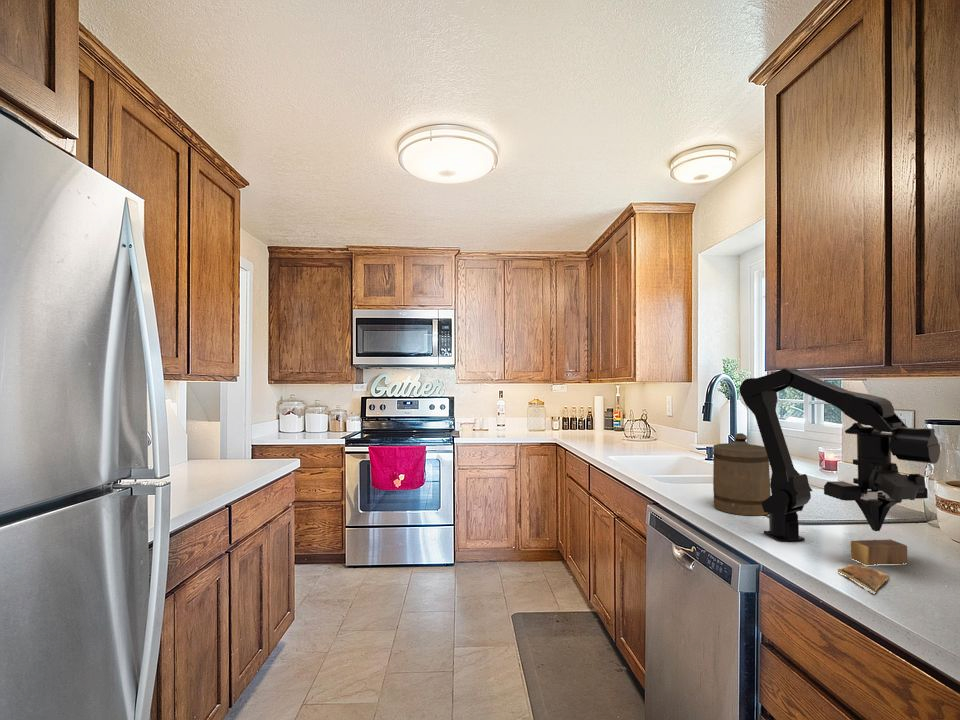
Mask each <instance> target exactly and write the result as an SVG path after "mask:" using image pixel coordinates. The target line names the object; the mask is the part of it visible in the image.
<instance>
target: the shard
mask: <svg viewBox="0 0 960 720" xmlns="http://www.w3.org/2000/svg"><path fill="white" fill-rule="evenodd" d="M837 572H838V573H839V572H840V573H842V574H844V575H846V576H847V577H849V578H851V579H853V580H855V581H856V582H858V583H860V584H861V585H863V586H865V587H867V588H869V589H871V590H872V591H874V592H876V590H877V589H878V587H879V586H880V587H881V586H883V585H884V582H885V581H886V582H887V580H888V581H889V579H890V574H889V575H888V574H886V573H884V572H882V571H880V570H877V569H874V568H870V567H866V566H863V565H858V564H853V563H852V564H848V565H847V566H844V567H842V568H838V569H837ZM888 578H889V579H888ZM886 582H885V583H886ZM878 590H879V589H878ZM878 590H877V591H878Z"/></svg>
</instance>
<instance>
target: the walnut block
mask: <svg viewBox="0 0 960 720" xmlns="http://www.w3.org/2000/svg"><path fill="white" fill-rule="evenodd" d="M850 558H852V559H854V560H857V561H859V562H861V563H863V564H865V565H874V564H876V565H877V564H903V563H904V564H905V563H908V545H906V544H903V543H901V542H898V541H896V540H893V539H890V538H889V539H867V540H866V539H865V540H864V539H863V540H850Z"/></svg>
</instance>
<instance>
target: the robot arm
mask: <svg viewBox="0 0 960 720" xmlns="http://www.w3.org/2000/svg"><path fill="white" fill-rule="evenodd" d="M789 387H790V388H791V389H794V390H796V391H799V392H801V393H804V394H805V395H808V396H811V397H813V398H816V399H818V400H820V401H823V402H825V403H827V404H829V405H832V406H834V407H835V408H837V409H839V410H840V411H841V412H842V413H843V414H844V415H846V416H847V417H848V418H850V419H851V420H853V421H855V422H854V423H853V424H852V425H851V426H850V427H849V428H846V429H845V431H844V432H845V434H850V435H856V457H857V458H856V459H855V458H854V459H852V465H854V466H855V465H856V466H857V478H855V477H854V478H852V479H853V480H852V483H849V482H847V481H843V480H842V481H841V480H839V481H838V480H837V481H827V482H826V483H824V485H823V494H824V495H825V496H829V497H832V498H835V499H837V500H840V501H847V502H852V501H855V503H856V504H857V506H858V508H859V509H860V510H861V513H862V514H863V516H864V518H865V519H866V521H867V523H868V525H869V527H870V528H871V530H872V531H873V532H880V531H881V529H882V526H883V524H884V521H885V519H886V517H887V515H888V513H889V511H890V510H891V508H892V507H893V506H895V505H897V504H901V503H902V501H903V500H904V501H905V500H910V501H915V500H916V499H917V500H918V499H920V500H921V499H928V498H929V497H928V496H929V494H928V488H927V486H926V480H925V476H923V475H921V474H920V473H910V474H901V473H900V472H899V467H898V465H897V463H896V462H892V456H895V457H896V459H897V460H900V461H905V462H906V461H908V462H914V463H915V462H916V463H925V464H931V465H932V464H933V465H934V464H937V463H938V461H939V459H940V455H941V444H939V440H938V437H937V435H936V433H935V428H932V427H931V428H930V427H929V428H928V427H924V428H915V427H908V426H907V424H906V423H905V422H904V421H903V420H902V419H901V418H900V416H898V414H896V412H895V408H894V406H893V403H892V402H891V401H890V400H889V399H887V398H886V397H881V396H877V395H873V394H868V393H862V392H858V391H852V390H848V389H846V388H845V389H844V388H843V387H840V386H838V385H835V384H832V383H830V382H828V381H825V380H822V379H821V378H820V379H819V378H817V377H814V376H812V375H810V374H807V373H804V372H803V371H802V372H801V371H800V370H799V369H797V368H794V367H793V368H789V367H788V368H781V369H780V370H778V371H776V372H772V373H769V374H767V375H764V376H760V377H751V378H746V379H744V380H743V381H742V382H741V384H740V385H739V389H738V391H739V394H740V396H741V398H742V400H743V403H744V404H745V406H746V407H747V408H748V409H749V410H750V411H751V412H752V414H753V415H754V417H755V421H756V423H757V427H758V430H759V433H760V437H761V440H762V443H763V446H764V447H765V450H766V453H767V456H768V460H769V467H770V469H771V477H770V493H771V496H770V497H769V498H767V499H766V500H765V501H764V502H762V507H763V510H764V512H766V513H769V514H768V521H769V522H768V523H769V530H764V531H763V534H765V535H767V536H768V537H771V538H772V539H773V540H776V541H778V542H796V541H800V542H801V541H805V540H806V539H805V537H803V536H801V535H800V534H799V533H800V530H799V529H800V528H799V527H800V525H799V524H800V523H799V515H798V514H797V513H798V512H802V511H803V509H804V507H805V505H806V504H808V503H809V502H810V500H811V498H812V494H811V492H813V488H812V487H811V486H810V484H809V479H808V478H809V477H808V475H807V474H806V473H804V474H800V473H799V472H798V470H796V468H795V467H794V464H793V460H792V458H791V457H792V456H791V454H790V452H789V448H788V445H787V441H786V439H785V436H784V432H783V429H782V426H781V423H780V420H779V417H778V414H777V406H778V405H777V404H778V393H779V392H781V391H784V390H785V389H788V388H789Z"/></svg>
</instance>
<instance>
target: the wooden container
mask: <svg viewBox="0 0 960 720" xmlns="http://www.w3.org/2000/svg"><path fill="white" fill-rule="evenodd" d="M733 438H734V441H732V443H729V442H728V443H717V444H714V445H713V448H712V450H713V460H712V461H713V464H712V465H713V466H712V467H713V470H712V471H713V474H712V475H713V476H712V477H713V478H712V479H713V481H712V482H713V483H712V485H713V490H712V492H713V506H714V508H715V509H716V510H718V511H720V512H723V513H727V514H731V515H740V516H746V517H747V516H749V517H757V516H759V517H760V516H767V515H769V514H768V513H766V512H764V510H763V507H762V502H764V501H765V500H766V499H767V498H769V497H770V496H771V495H772V494H771V487H770V482H771V477H770V463H769V460H768V456H767V453H766V450H765V447H764V445H759V444H750V443H748V442H747V441H746V440H747V439H748V436H747V435H746V434H744V433H741V432H740V433H736V434H734V436H733Z"/></svg>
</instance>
